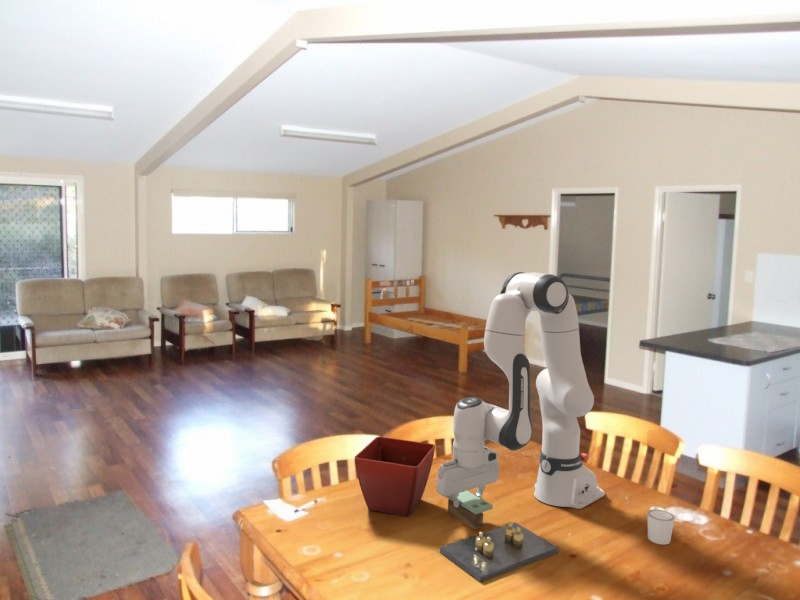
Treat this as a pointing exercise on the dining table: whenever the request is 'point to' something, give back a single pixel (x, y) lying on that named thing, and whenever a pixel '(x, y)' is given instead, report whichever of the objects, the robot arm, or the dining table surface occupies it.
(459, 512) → the stand
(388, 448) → the plant pot
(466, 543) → the peg assembly base
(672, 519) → the white cup
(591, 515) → the dining table surface
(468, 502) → the board
